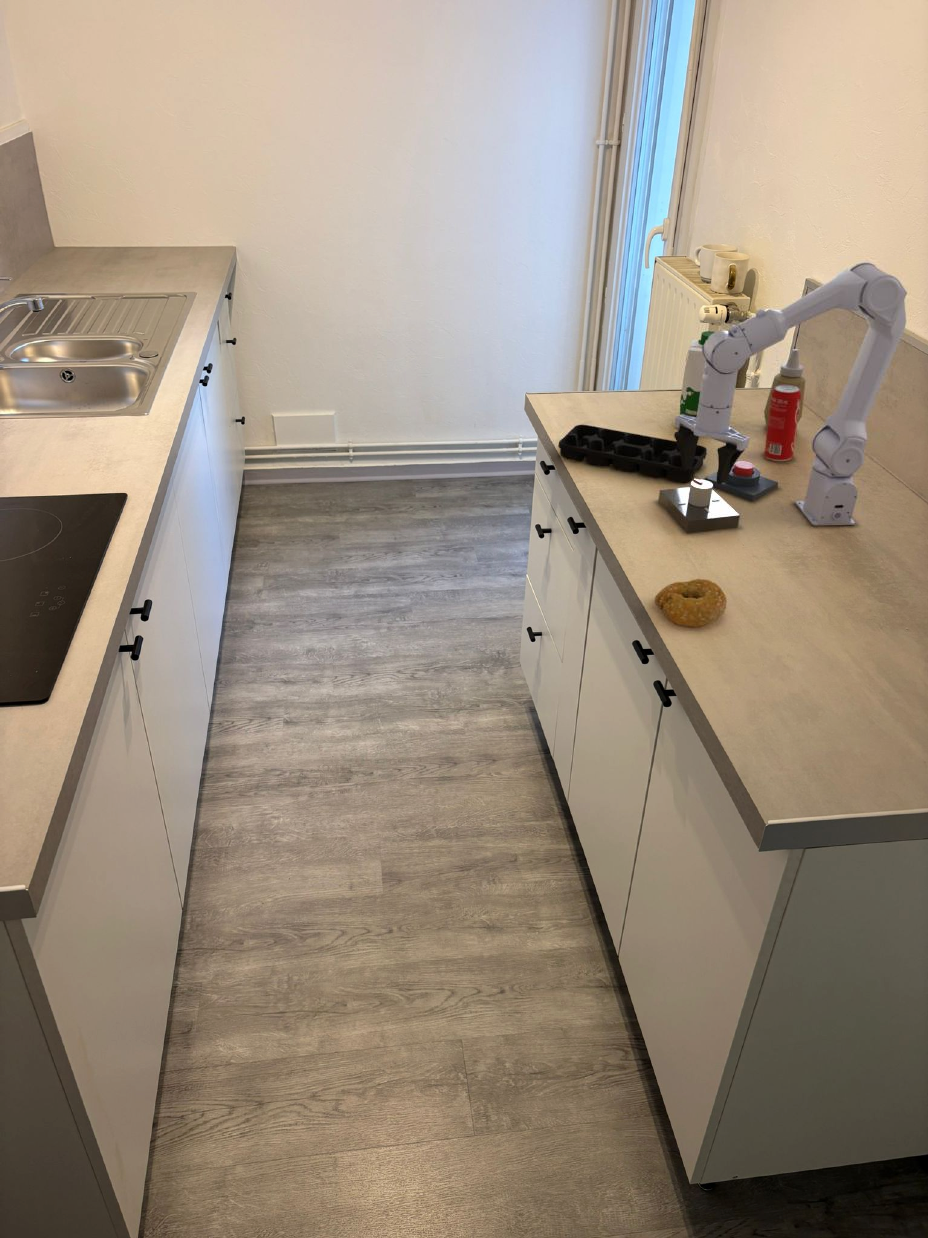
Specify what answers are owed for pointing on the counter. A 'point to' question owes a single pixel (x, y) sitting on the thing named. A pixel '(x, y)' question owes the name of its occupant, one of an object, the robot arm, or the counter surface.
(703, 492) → the hob knob
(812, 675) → the counter surface
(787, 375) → the squeeze bottle
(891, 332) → the robot arm
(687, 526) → the panel
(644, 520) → the counter surface
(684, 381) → the milk carton
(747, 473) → the power button
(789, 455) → the beverage can
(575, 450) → the egg carton
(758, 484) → the switch block
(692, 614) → the bagel
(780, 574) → the counter surface
